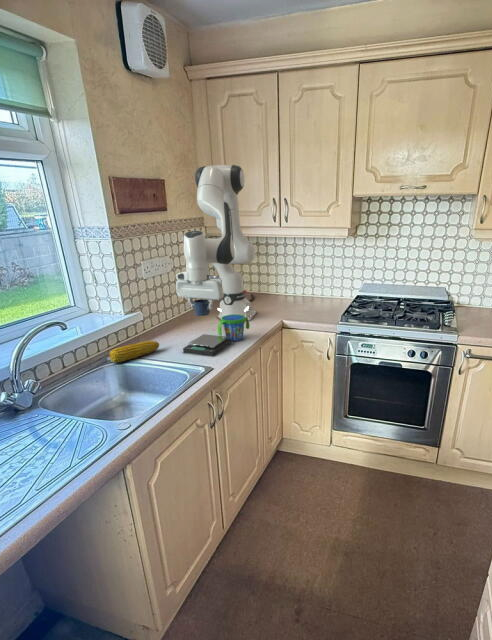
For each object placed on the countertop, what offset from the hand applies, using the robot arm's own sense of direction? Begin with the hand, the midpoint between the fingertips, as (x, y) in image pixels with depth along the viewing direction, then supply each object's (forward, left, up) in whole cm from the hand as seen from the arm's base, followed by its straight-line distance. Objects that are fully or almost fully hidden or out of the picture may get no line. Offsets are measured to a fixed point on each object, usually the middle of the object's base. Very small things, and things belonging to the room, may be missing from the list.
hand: (201, 308), depth 168 cm
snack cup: (-13, +7, -17) cm, 23 cm away
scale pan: (0, +1, -14) cm, 14 cm away
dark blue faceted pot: (0, 0, -2) cm, 2 cm away
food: (+19, -22, -17) cm, 33 cm away
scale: (+1, +1, -17) cm, 17 cm away
